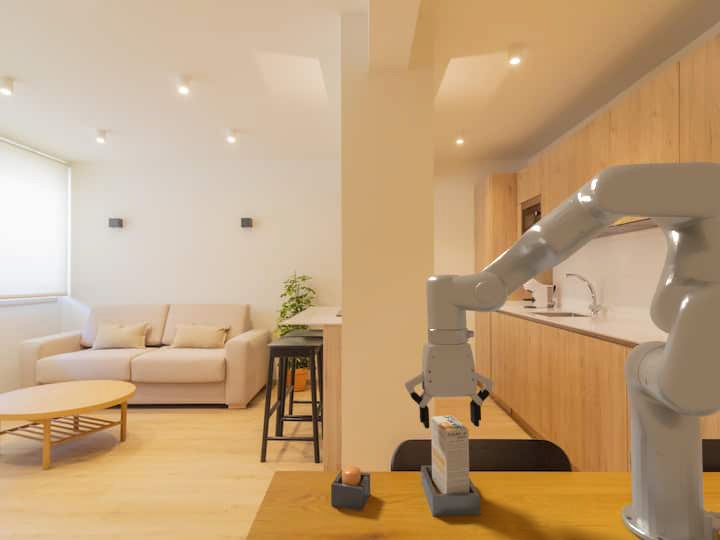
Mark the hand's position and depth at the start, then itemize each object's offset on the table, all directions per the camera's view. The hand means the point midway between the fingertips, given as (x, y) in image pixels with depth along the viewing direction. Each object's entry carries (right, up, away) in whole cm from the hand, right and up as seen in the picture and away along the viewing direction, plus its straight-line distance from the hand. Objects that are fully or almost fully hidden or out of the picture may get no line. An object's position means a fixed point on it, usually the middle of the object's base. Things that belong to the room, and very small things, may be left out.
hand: (450, 425), depth 76 cm
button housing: (-19, -14, -1) cm, 24 cm away
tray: (0, -14, 0) cm, 14 cm away
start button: (-19, -13, -1) cm, 23 cm away
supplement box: (0, -13, 0) cm, 13 cm away
